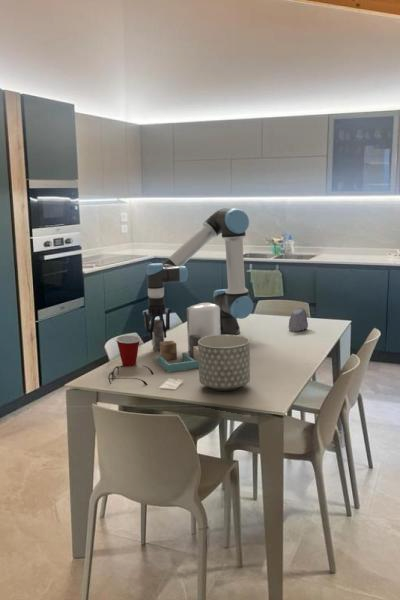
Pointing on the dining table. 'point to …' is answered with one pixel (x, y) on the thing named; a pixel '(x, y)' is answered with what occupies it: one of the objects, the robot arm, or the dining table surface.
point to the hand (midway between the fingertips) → (158, 345)
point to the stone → (298, 320)
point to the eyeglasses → (125, 378)
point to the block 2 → (194, 346)
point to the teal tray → (188, 363)
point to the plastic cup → (128, 349)
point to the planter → (224, 361)
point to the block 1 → (166, 347)
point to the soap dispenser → (203, 320)
